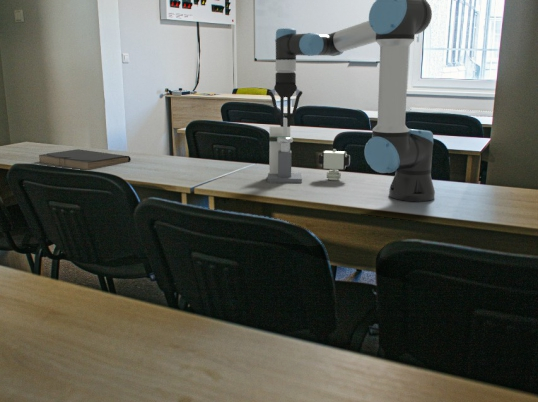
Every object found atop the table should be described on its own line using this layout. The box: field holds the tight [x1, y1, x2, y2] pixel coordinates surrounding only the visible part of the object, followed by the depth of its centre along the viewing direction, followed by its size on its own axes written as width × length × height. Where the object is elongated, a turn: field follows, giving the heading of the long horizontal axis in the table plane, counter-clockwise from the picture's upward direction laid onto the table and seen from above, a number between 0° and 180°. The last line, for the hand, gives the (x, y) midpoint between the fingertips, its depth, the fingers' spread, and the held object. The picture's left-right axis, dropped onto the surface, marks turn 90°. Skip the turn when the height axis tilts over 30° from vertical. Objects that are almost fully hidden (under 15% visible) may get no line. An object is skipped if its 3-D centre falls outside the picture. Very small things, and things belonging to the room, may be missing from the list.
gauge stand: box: [266, 125, 303, 184], centre depth 221 cm, size 13×11×20 cm
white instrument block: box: [268, 136, 294, 152], centre depth 221 cm, size 9×6×11 cm
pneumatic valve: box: [317, 148, 351, 182], centre depth 223 cm, size 6×12×12 cm, turn 78°
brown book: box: [38, 149, 132, 170], centre depth 259 cm, size 33×4×24 cm
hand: (285, 135), depth 219 cm, fingers closed
